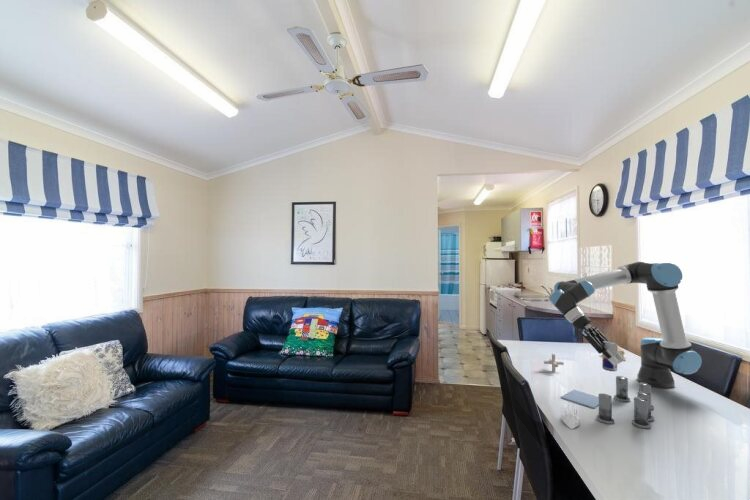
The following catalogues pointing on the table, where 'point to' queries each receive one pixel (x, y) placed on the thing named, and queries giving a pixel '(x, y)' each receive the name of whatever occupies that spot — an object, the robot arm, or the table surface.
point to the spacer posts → (640, 402)
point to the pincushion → (571, 420)
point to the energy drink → (613, 349)
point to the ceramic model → (621, 352)
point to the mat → (582, 398)
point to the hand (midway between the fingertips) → (619, 362)
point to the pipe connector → (553, 363)
